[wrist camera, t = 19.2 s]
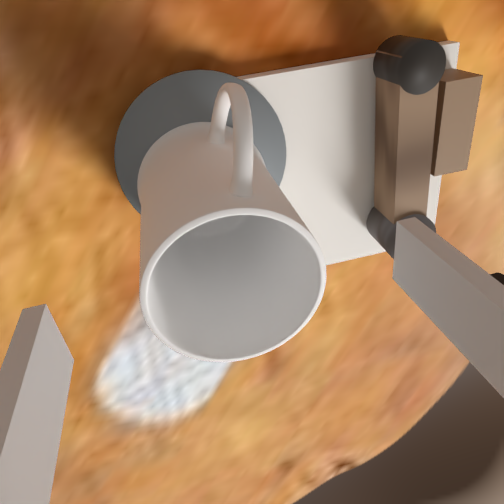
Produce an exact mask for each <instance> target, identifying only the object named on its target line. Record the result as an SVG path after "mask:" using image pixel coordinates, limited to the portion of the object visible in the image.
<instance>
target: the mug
mask: <svg viewBox="0 0 504 504" xmlns="http://www.w3.org/2000/svg"><path fill="white" fill-rule="evenodd" d="M230 105H231V110H232V120H233V128H231V127H229V126H226V121H227V117H228V112H229V109H230ZM137 189H138V197H139V201H140V204H141V231H140V281H139V296H140V305H141V310H142V314H143V316H144V319H145V321H146V323H147V325H148V327H149V328H150V330H151V331H152V332H153V334H154V335H155V336H156V337H157V338H158V339H159V340H160V341H161V342H162V343H163V344H165V345H166V346H167V347H169V348H170V349H172V350H174V351H175V352H177V353H179V354H182V355H184V356H187V357H190V358H193V359H197V360H202V361H209V362H232V361H240V360H245V359H249V358H253V357H256V356H259V355H262V354H264V353H267V352H269V351H271V350H273V349H275V348H277V347H279V346H280V345H282V344H284V343H285V342H287V341H288V340H289V339H291V338H292V337H293V336H295V335H296V334H297V333H298V332H299V331H300V330H301V329H302V328H303V327H304V326H305V325H306V324H307V323H308V321H309V320H310V319H311V317H312V316H313V315H314V313H315V311H316V310H317V308H318V306H319V304H320V302H321V299H322V296H323V293H324V289H325V284H326V265H325V260H324V256H323V253H322V251H321V248H320V246H319V244H318V243H317V241H316V239H315V238H314V236H313V235H312V233H311V232H310V231H309V229H308V228H307V226H306V225H305V223H304V222H303V220H302V219H301V218H300V216H299V215H298V213H297V212H296V210H295V209H294V208H293V206H292V205H291V203H290V202H289V200H288V199H287V198H286V196H285V195H284V193H283V192H282V190H281V189H280V188H279V186H278V185H277V183H276V182H275V180H274V179H273V178H272V176H271V175H270V173H269V172H268V170H267V169H266V166H265V163H264V160H263V158H262V156H261V154H260V152H259V151H258V149H257V148H256V146H255V145H254V144H253V125H252V116H251V109H250V104H249V100H248V96H247V94H246V92H245V90H244V88H243V87H242V86H241V85H239V84H237V83H225V84H223V85H222V86H221V88H220V89H219V91H218V94H217V97H216V100H215V104H214V108H213V113H212V118H211V122H194V123H189V124H185V125H182V126H179V127H177V128H174V129H172V130H170V131H169V132H167V133H166V134H164V135H163V136H161V137H160V138H159V139H158V140H157V141H156V142H155V143H154V144H153V145H152V146H151V147H150V149H149V150H148V152H147V153H146V155H145V157H144V159H143V161H142V163H141V166H140V169H139V173H138V180H137Z"/></svg>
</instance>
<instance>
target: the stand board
mask: <svg viewBox="0 0 504 504" xmlns="http://www.w3.org/2000/svg"><path fill="white" fill-rule="evenodd" d="M437 43H439V44H440V45H441V46H442V47H443V49H444V51H445V54H446V67H445V71H444V74H443V76H442V78H441V79H440V81H439V87H438V98H437V108H436V119H435V130H434V140H433V151H432V162H431V172H430V183H429V194H428V204H427V215H426V217H427V218H429V219H430V220H431V221H432V222H433V223H434V225H435V220H436V213H437V206H438V198H439V191H440V184H441V176H442V175H443V174H448V173H453V172H458V171H462V170H467V166H468V160H469V154H470V148H471V142H472V137H473V131H474V125H475V119H476V113H477V107H478V101H479V96H480V90H481V84H482V78H483V75H479V74H475V73H471V72H466V71H462V70H458V69H456V66H457V59H458V52H459V45H460V42H455V41H443V42H437ZM374 56H375V53H373V54H367V55H361V56H355V57H349V58H343V59H338V60H332V61H326V62H320V63H314V64H308V65H303V66H297V67H291V68H285V69H279V70H273V71H267V72H262V73H256V74H250V75H244V76H238V77H235V76H232V75H229V74H226V73H223V72H219V71H213V70H199V69H198V70H188V71H183V72H179V73H174V74H172V75H169V76H167V77H164V78H162V79H160V80H159V81H157V82H155V83H153V84H152V85H150V86H149V87H148V88H147V89H145V90H144V91H143V92H142V93H141V94H140V95H139V96H138V97H137V98H136V99H135V100H134V101H133V102H132V104H131V105H130V107H129V108H128V109H127V111H126V113H125V115H124V117H123V119H122V121H121V123H120V126H119V129H118V132H117V137H116V142H115V154H114V158H115V168H116V173H117V177H118V180H119V183H120V185H121V188H122V190H123V192H124V194H125V195H126V197H127V199H128V200H129V202H130V203H131V204H132V206H133V207H134V208H135V209H136V210H137V211H138V212H139V213H140V214H141V204H140V201H139V197H138V189H137V180H138V173H139V169H140V166H141V163H142V161H143V159H144V157H145V155H146V153H147V152H148V150H149V149H150V147H151V146H152V145H153V144H154V143H155V142H156V141H157V140H158V139H159V138H160V137H161V136H163V135H164V134H166V133H167V132H169V131H170V130H172V129H174V128H177V127H179V126H182V125H185V124H189V123H194V122H211V118H212V113H213V108H214V104H215V100H216V97H217V94H218V91H219V89H220V88H221V86H222V85H223V84H225V83H237V84H239V85H241V86H242V87H243V88H244V90H245V92H246V94H247V96H248V100H249V104H250V109H251V116H252V125H253V144H254V145H255V146H256V148H257V149H258V151H259V152H260V154H261V156H262V158H263V160H264V163H265V166H266V169H267V170H268V172H269V173H270V175H271V176H272V178H273V179H274V180H275V182H276V183H277V185H278V186H279V188H280V189H281V190H282V192H283V193H284V195H285V196H286V198H287V199H288V200H289V202H290V203H291V205H292V206H293V208H294V209H295V210H296V212H297V213H298V215H299V216H300V218H301V219H302V220H303V222H304V223H305V225H306V226H307V228H308V229H309V231H310V232H311V233H312V235H313V236H314V238H315V239H316V241H317V243H318V244H319V246H320V248H321V251H322V253H323V256H324V260H325V265H330V264H334V263H338V262H343V261H347V260H351V259H356V258H360V257H364V256H369V255H373V254H377V253H382V252H386V250H385V249H384V248H383V247H382V246H381V245H380V244H379V243H378V242H377V241H376V240H375V239H374V238H373V237H372V236H371V235H370V233H369V232H368V230H367V226H366V221H367V217H368V214H369V212H370V211H371V209H372V208H373V207H374V168H375V100H376V76H375V74H374V71H373V60H374ZM226 126H229V127H231V128H233V120H232V110H231V105H230V109H229V112H228V117H227V121H226Z"/></svg>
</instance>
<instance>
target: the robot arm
mask: <svg viewBox="0 0 504 504" xmlns="http://www.w3.org/2000/svg"><path fill="white" fill-rule="evenodd" d="M393 280H394V281H395V282H396V283H397V284H398V285H399V286H400V287H401V288H402V289H403V290H404V291H405V292H406V294H407V295H408V296H409V297H410V298H411V299H412V300H413V301H414V302H415V303H416V304H417V305H418V306H419V308H420V309H421V310H422V311H423V312H424V313H425V314H426V315H427V316H428V317H429V318H430V319H431V320H432V321H433V323H434V324H435V325H436V326H437V327H438V328H439V329H440V330H441V331H442V332H443V333H444V334H445V335H446V337H447V338H448V339H449V340H450V341H451V342H452V343H453V344H454V345H455V346H456V347H457V348H458V349H459V351H460V352H461V353H462V354H463V355H464V356H465V357H466V358H467V359H468V360H469V361H470V362H471V363H472V365H473V366H474V367H475V368H476V369H477V370H478V371H479V372H480V373H481V374H482V375H483V376H484V377H485V378H486V380H487V381H488V382H489V383H490V384H491V385H492V386H493V387H494V388H495V389H496V390H497V391H498V393H499V394H500V395H501V396H502V397H503V398H504V275H503V274H501V273H494V274H491V275H490V274H488V273H487V272H486V271H485V270H483V269H482V268H481V267H479V266H478V265H477V264H475V263H474V262H473V261H472V260H470V259H469V258H468V257H466V256H465V255H464V254H462V253H461V252H460V251H459V250H457V249H456V248H455V247H453V246H452V245H451V244H449V243H448V242H447V241H446V240H444V239H443V238H442V237H440V236H439V235H438V234H436V233H435V232H434V231H433V230H431V229H430V228H429V227H427V226H426V225H425V224H423V223H422V222H421V221H420V220H418V219H417V218H416V217H412V218H408V219H404V220H400V221H397V224H396V238H395V251H394V265H393ZM73 362H74V359H73V357H72V355H71V353H70V351H69V349H68V347H67V345H66V343H65V341H64V339H63V337H62V335H61V333H60V331H59V329H58V327H57V325H56V323H55V321H54V319H53V317H52V315H51V313H50V311H49V309H48V307H47V305H46V304H43V305H39V306H34V307H30V308H26V309H23V310H22V312H21V315H20V318H19V321H18V323H17V326H16V329H15V332H14V334H13V337H12V340H11V342H10V345H9V348H8V351H7V353H6V356H5V359H4V361H3V364H2V367H1V370H0V504H49V502H50V496H51V490H52V484H53V479H54V473H55V467H56V461H57V455H58V450H59V444H60V438H61V432H62V426H63V420H64V415H65V409H66V403H67V397H68V391H69V386H70V380H71V374H72V368H73Z"/></svg>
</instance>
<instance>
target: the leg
mask: <svg viewBox="0 0 504 504" xmlns="http://www.w3.org/2000/svg"><path fill="white" fill-rule="evenodd" d="M445 67H446V54H445V51H444V49H443V47H442V46H441V45H440V44H439V43H437V42H436V41H432V40H426V39H420V38H414V37H407V36H401V35H397V36H392V37H390V38H388V39H387V40H385V41H384V42H383V43H382V44H381V45H380V46H379V48H378V49H377V50H376V53H375V56H374V60H373V71H374V74H375V76H376V100H375V168H374V207H373V208H372V209H371V211H370V212H369V214H368V217H367V221H366V226H367V230H368V232H369V233H370V235H371V236H372V237H373V238H374V239H375V240H376V241H377V242H378V243H379V244H380V245H381V246H382V247H383V248H384V249H385V250H386V252H387V253H388V254H389V255H390V256H391V257H392V258H393V259H394V251H395V238H396V224H397V221H400V220H404V219H408V218H412V217H416V218H417V219H418V220H420V221H421V222H422V223H423V224H425V225H426V226H427V227H429V228H430V229H431V230H433V231H434V232H435V233H436V228H435V225H434V223H433V222H432V221H431V220H430V219H429V218H427V217H426V215H427V204H428V194H429V183H430V172H431V162H432V151H433V140H434V130H435V119H436V108H437V98H438V87H439V81H440V79H441V78H442V76H443V74H444V71H445Z"/></svg>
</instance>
